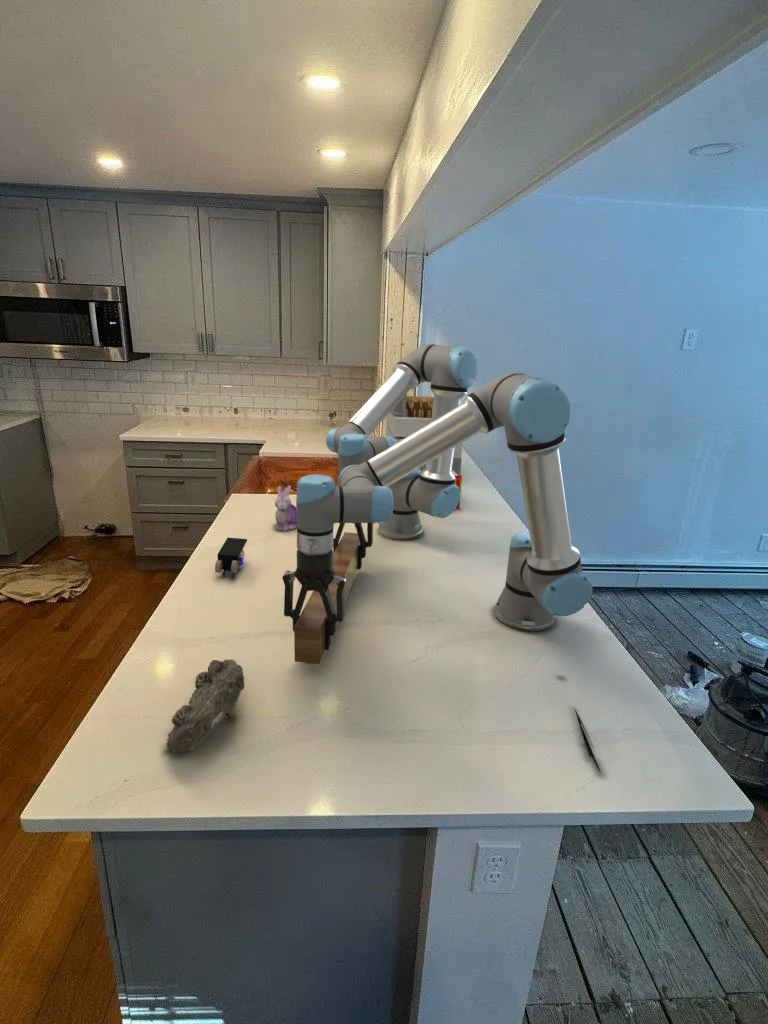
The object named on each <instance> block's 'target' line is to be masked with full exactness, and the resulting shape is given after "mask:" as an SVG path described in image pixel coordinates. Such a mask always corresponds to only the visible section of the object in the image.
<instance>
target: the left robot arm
mask: <svg viewBox="0 0 768 1024" xmlns="http://www.w3.org/2000/svg"><path fill="white" fill-rule="evenodd" d="M478 374H479V363H478V359H477V357H476V355H475V353H474V352H473V350H471V349H469V348H467V347H461V346H459V345H457V346H455V345H441V344H434V343H433V344H432V343H429V344H424V345H421V346H418V347H416V348H414V349H413V350H411V351H410V352H409V353H407V354H406V355H404V356H403V357H402V358H401V359H400V360H399V361H398V362H397V363H396V364H394V366H393V368H392V373H391V374H390V375H389V376H388V377H387V379H385V381H384V382H383V383H382V384H381V385H380V386H379V387H378V388H377V389H376V391H374V392H373V394H372V395H371V396H370V397H369V398H368V399H367V400H366V402H364V403H363V405H362V406H360V408H359V409H358V410H357V412H355V413H354V414H353V416H352V417H351V418H350V419H349V420H348V421H347V422H346V423H345V424H344V425H343V427H334V428H331V429H330V430H329V431H328V432H327V434H326V438H325V444H326V448H327V449H328V450H329V451H330V452H332V453H335V454H337V455H338V456H337V458H338V459H337V460H338V461H337V463H338V464H337V465H338V467H337V468H338V469H337V480H338V479H339V475H340V473H341V471H342V470H343V469H344V468H345V467H347V466H350V465H360V464H362V463H363V462H365V461H367V460H369V459H371V458H372V457H374V456H376V455H377V454H379V453H381V452H382V451H384V450H386V449H387V448H389V447H391V446H392V445H394V444H396V442H395V440H394V439H393V438H392V437H390V436H386V435H381V436H373V435H371V434H372V433H373V432H374V431H375V430H376V429H377V428H378V427H379V425H380V424H381V423H382V422H383V421H384V420H385V419H386V416H387V415H388V414H389V413H390V412H391V410H392V409H393V408H394V407H395V406H396V405H397V404H398V403H399V401H400V400H401V399H402V398H403V397H404V396H405V395H406V394H408V393H409V391H410V390H414V389H416V388H417V387H419V385H420V384H422V383H430V388H429V389H430V391H431V392H432V394H433V397H434V402H433V410H432V418H431V422H433V421H434V420H436V419H438V418H439V417H441V416H443V415H444V414H446V413H448V412H449V411H451V410H453V409H454V408H456V407H458V406H459V405H461V404H462V398H464V397H465V396H466V395H468V389H469V388H471V387H473V386H474V385H475V381H477V379H478ZM454 449H455V447H454V448H452V449H451V450H449V451H447V452H446V453H444V454H442V455H441V456H439V457H437V458H435V459H434V460H432V461H430V462H429V463H427V464H426V466H424V467H425V468H424V469H423V470H421V469H420V468H418V469H417V470H415V471H413V472H412V473H410V474H408V475H406V476H405V477H403V478H401V479H400V480H398V481H396V482H395V483H393V484H391V485H389V486H388V487H389V488H390V489H391V491H392V495H393V514H392V517H391V519H390V520H389V521H387V522H379V525H378V533H379V534H380V535H381V536H382V537H385V538H387V539H389V540H395V541H410V540H415V539H418V538H420V537H421V536H422V535H423V525H422V524H421V518H420V515H419V512H420V513H423V514H426V515H429V516H431V517H434V518H440V519H445V518H448V517H450V515H452V514H453V513H454V511H455V510H457V509H456V507H457V505H458V503H459V500H460V489H459V487H458V486H456V485H454V484H455V476H454V475H453V474H452V464H453V457H454ZM280 484H282V485H284V486H285V488H286V487H287V486H288V485H289V484H288V483H286V482H285V481H283V480H281V481H280ZM338 484H339V482H338V481H337V486H338V487H339V485H338ZM291 490H292V491H294V492H296V493H297V488H294V487H293V486H291ZM460 501H461V500H460ZM338 524H339V525H338V528H337V530H336V533H335V537H333V548H332V550H333V553H334V551H335V550H336V548H337V546H338V544H339V542H340V540H341V538H342V537H341V536H342V534H343V531H344V528H345V525H346V523H338ZM362 524H363V523H353V525H354V528H355V530H356V533H357V534H358V537H359V541H360V547H359V549H358V571H360V570H362V567H363V559H365V558H366V556H367V548H371V547H372V546H373V544H374V523H366V525H367V526H366V527H367V528H366V529H367V530H366V531H367V532H366V533H367V535H365V533H364V528H363V525H362ZM334 527H335V524H334V525H333V529H334ZM366 536H367V537H366ZM366 538H367V540H366Z"/></svg>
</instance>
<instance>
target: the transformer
mask: <svg viewBox="0 0 768 1024" xmlns="http://www.w3.org/2000/svg"><path fill="white" fill-rule="evenodd" d="M407 394H408V393H407ZM407 394H406V395H405V396H404V397H403V398H402V399H401V400H400V401H399V403H398V404H397V405H396V406H395V407H394V408H393V409H392V410H391V412H390V413H389V414H388V415H387V416H386V417H385V423H386V428H385V436H390V437H392V438H393V439H394V440H395V442H396V443H397V442H399V441H401V440H402V439H404V438H406V437H408V436H409V435H411V434H413V433H414V432H416V431H418V430H419V429H421V428H423V427H424V426H426V425H428V424H429V423H431V418H432V410H433V402H434V396H415V395H414V396H413V395H412V396H411V395H407ZM462 453H463V443H461V444H459V445H458V446H456V447H455V449H454V457H453V464H452V471H454V472H455V473H456V474H457V475H458V476H461V472H462V461H463V460H462ZM422 467H426V464H425V465H423V466H422Z"/></svg>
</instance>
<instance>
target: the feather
mask: <svg viewBox="0 0 768 1024" xmlns="http://www.w3.org/2000/svg"><path fill="white" fill-rule="evenodd" d="M561 678H563V676H561ZM574 711H575V714H576V718H577V722H578V725H579V729H580V733H581V735H582V739H583V741H584V744H585V747H586V750H587V753H588V757H589V759H590V761H591V764H592V763H593V762H594V763H595V765H596V767H597V770H599V772H600V773H601V768H600V767H599V764H600V763H601V762H602V761H599V760H600V759H599V758H597V759H598V761H599V762H600V763H599V764H598V762H597V759H596V757H595V754H594V752H593V750H592V748H593V749H595V746H594V744H593V742H590V741H589V739H588V737H589V734H588V731H587V729H586V727H585V726H584V723H583V722H582V719H581V717H580V716H579V714H578V712H577V710H576V709H574ZM590 744H591V745H590ZM591 746H592V747H591ZM591 758H592V759H591ZM592 760H593V761H592ZM601 764H602V763H601ZM592 766H593V764H592Z"/></svg>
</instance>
